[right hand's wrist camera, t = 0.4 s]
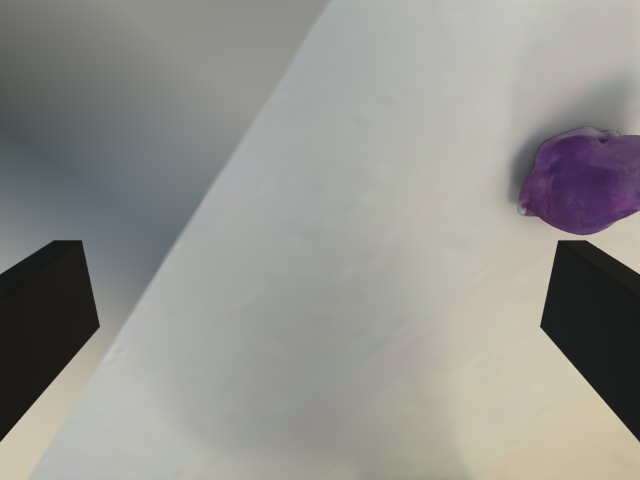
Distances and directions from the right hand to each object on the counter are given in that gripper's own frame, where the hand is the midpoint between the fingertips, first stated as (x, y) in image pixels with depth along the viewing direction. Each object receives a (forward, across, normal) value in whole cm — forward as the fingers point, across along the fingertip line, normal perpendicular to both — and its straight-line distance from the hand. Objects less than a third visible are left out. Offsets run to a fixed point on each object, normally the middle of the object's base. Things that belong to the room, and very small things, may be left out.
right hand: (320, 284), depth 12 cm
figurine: (+28, -23, +2) cm, 36 cm away
